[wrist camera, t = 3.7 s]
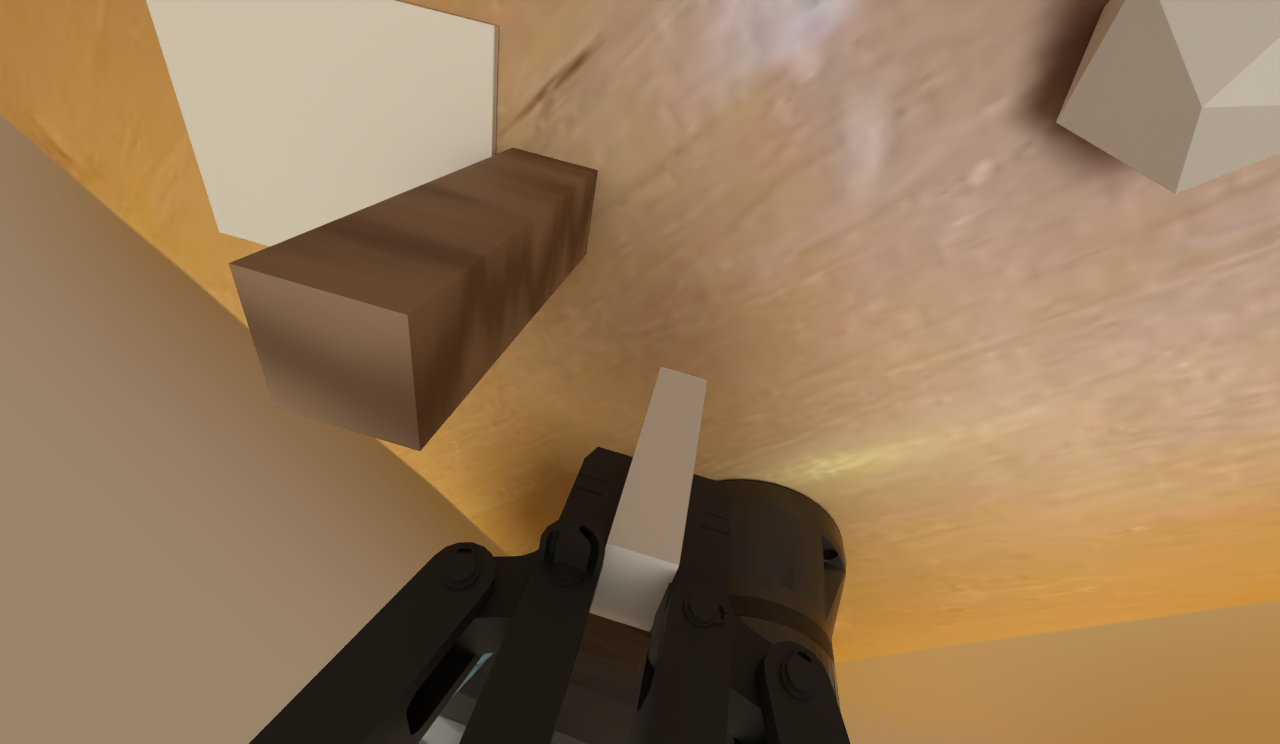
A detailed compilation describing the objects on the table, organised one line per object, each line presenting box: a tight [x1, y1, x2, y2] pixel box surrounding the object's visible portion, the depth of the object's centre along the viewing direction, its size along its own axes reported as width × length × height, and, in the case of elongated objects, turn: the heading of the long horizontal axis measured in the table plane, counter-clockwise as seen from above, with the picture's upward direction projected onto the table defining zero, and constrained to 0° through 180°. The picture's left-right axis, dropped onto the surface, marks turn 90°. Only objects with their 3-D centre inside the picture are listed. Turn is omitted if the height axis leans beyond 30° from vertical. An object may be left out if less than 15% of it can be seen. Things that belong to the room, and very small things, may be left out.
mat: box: [146, 0, 499, 247], centre depth 29 cm, size 16×20×1 cm
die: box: [1056, 0, 1280, 194], centre depth 17 cm, size 8×9×10 cm
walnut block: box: [229, 148, 598, 451], centre depth 21 cm, size 5×5×18 cm
